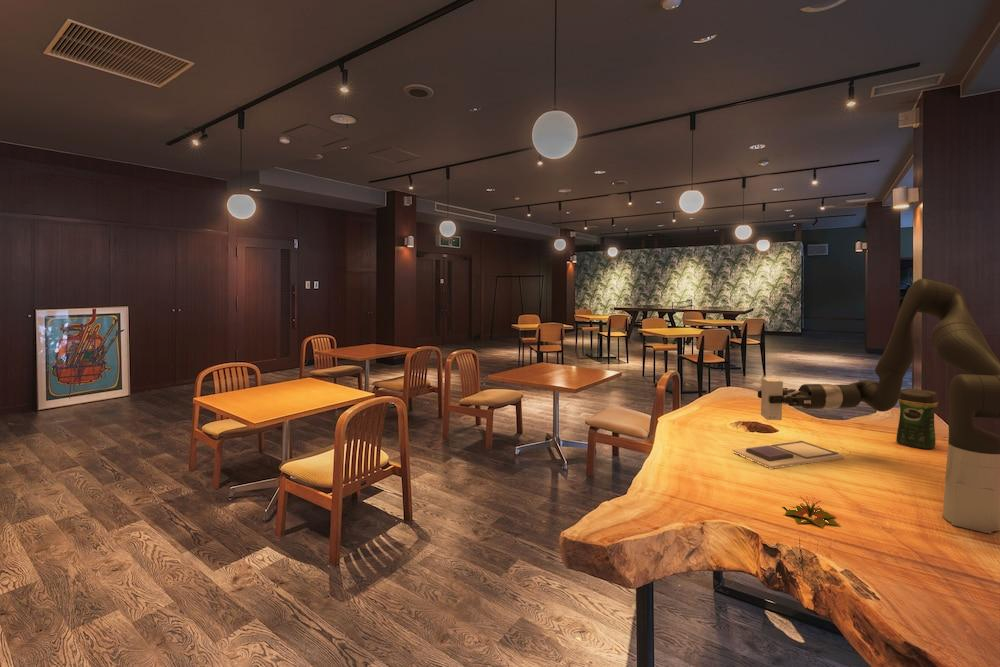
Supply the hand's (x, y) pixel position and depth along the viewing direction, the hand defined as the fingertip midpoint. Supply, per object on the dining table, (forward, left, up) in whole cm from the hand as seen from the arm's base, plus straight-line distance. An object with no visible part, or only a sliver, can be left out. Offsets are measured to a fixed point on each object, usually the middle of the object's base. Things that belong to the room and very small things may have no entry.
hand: (763, 397), depth 149 cm
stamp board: (+7, -5, -19) cm, 21 cm away
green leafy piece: (-34, -19, -20) cm, 44 cm away
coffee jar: (+45, -34, -19) cm, 60 cm away
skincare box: (+2, -2, -7) cm, 7 cm away
